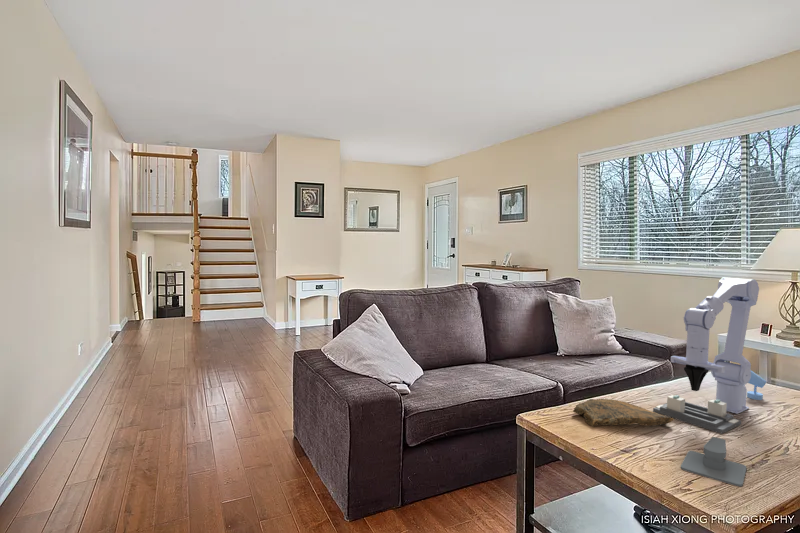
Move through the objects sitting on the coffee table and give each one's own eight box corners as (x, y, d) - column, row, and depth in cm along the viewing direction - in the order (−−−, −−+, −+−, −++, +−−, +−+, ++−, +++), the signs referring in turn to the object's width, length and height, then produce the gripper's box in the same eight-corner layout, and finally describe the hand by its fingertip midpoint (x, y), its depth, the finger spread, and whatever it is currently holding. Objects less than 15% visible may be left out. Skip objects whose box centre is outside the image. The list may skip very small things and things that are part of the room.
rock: (625, 395, 156) (680, 416, 137) (624, 411, 156) (679, 434, 137) (567, 398, 147) (617, 420, 128) (566, 415, 147) (615, 440, 129)
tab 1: (671, 408, 149) (672, 393, 149) (684, 412, 146) (685, 396, 146) (666, 410, 148) (667, 394, 147) (679, 414, 144) (680, 398, 144)
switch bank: (673, 404, 157) (673, 397, 157) (741, 424, 140) (741, 417, 140) (653, 411, 150) (653, 405, 150) (722, 433, 133) (722, 426, 133)
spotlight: (741, 397, 164) (765, 401, 160) (742, 370, 164) (767, 373, 160) (741, 393, 168) (765, 397, 164) (742, 367, 168) (766, 370, 164)
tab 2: (711, 413, 146) (712, 397, 145) (725, 417, 142) (726, 401, 142) (707, 414, 144) (708, 399, 144) (721, 419, 141) (722, 403, 140)
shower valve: (748, 444, 115) (743, 466, 104) (747, 465, 116) (742, 489, 104) (691, 430, 123) (680, 449, 112) (690, 449, 124) (679, 470, 112)
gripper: (666, 344, 145) (664, 385, 146) (717, 353, 133) (715, 399, 133) (677, 341, 149) (675, 382, 149) (728, 350, 136) (726, 395, 137)
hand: (695, 390), depth 142 cm, fingers closed
